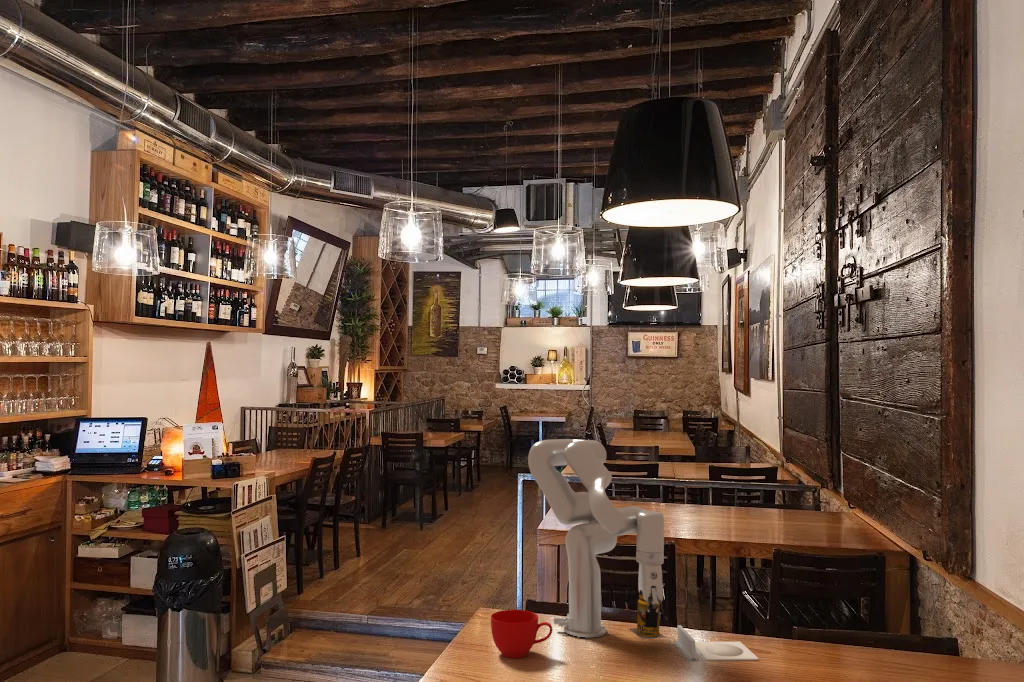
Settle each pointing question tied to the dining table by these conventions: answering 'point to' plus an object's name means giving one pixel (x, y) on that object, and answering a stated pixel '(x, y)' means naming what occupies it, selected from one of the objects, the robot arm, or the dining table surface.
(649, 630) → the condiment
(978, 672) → the dining table surface
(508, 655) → the ceramic cup
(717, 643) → the pad
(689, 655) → the low wall
